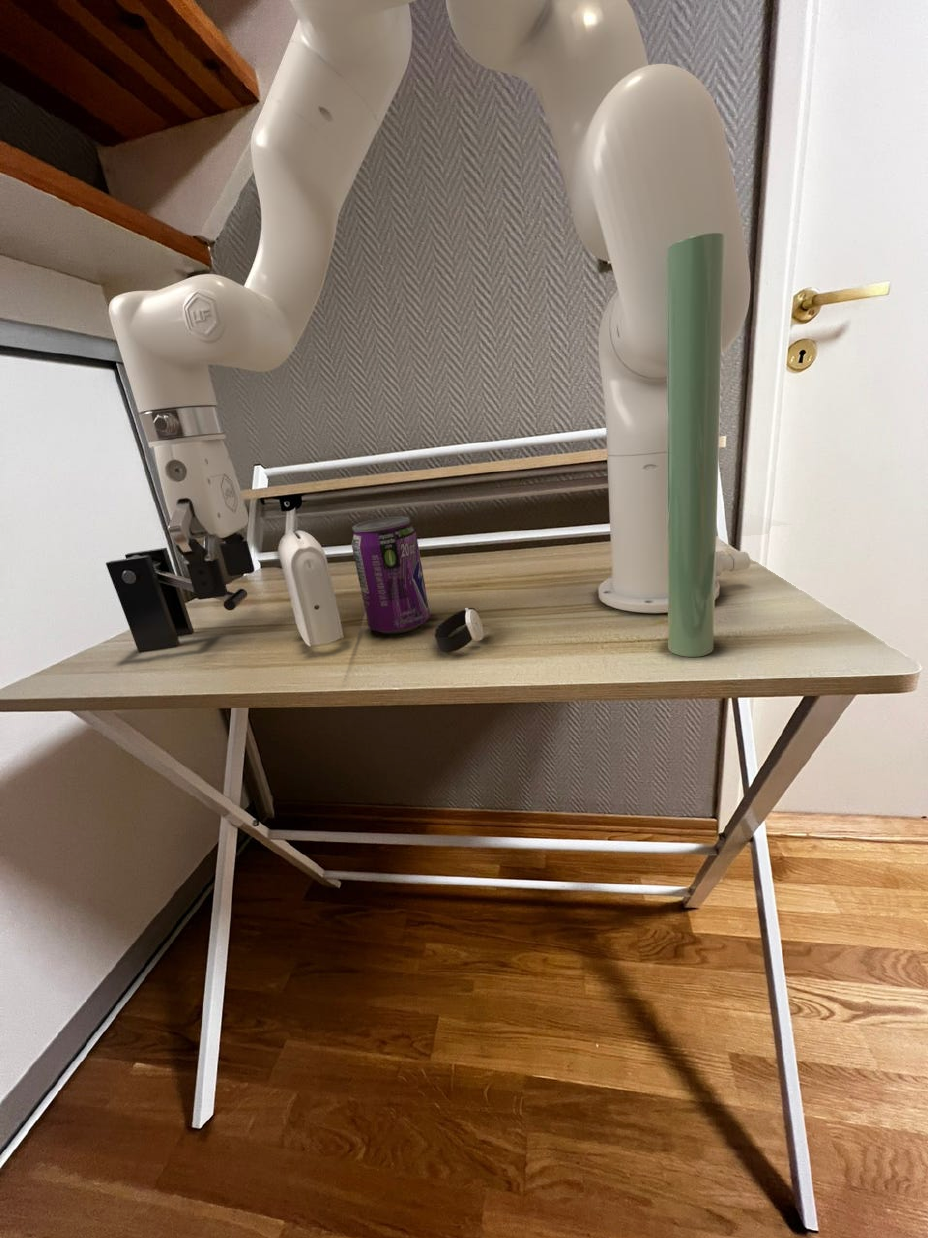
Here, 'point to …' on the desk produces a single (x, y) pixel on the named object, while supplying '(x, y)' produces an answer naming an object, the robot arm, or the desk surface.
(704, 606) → the tall green cylinder
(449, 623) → the watch
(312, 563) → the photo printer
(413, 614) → the beverage can
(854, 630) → the desk surface
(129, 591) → the bracket
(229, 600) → the lever
